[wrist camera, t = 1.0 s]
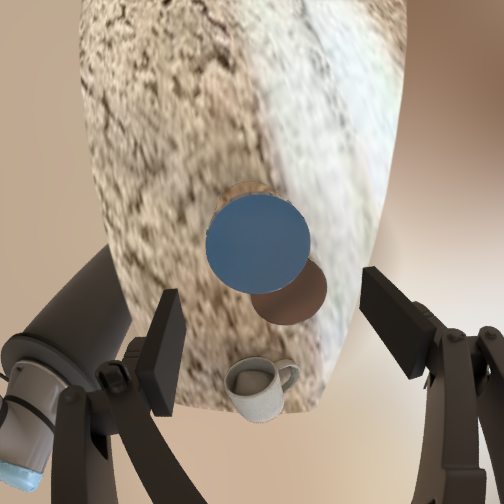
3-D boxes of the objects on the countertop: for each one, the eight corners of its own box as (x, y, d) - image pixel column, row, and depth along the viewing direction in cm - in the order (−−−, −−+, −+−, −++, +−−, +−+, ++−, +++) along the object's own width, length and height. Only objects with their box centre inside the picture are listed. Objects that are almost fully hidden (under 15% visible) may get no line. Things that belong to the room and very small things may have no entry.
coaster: (238, 309, 39) (238, 311, 39) (272, 243, 36) (273, 244, 36) (303, 332, 41) (303, 333, 41) (339, 273, 39) (340, 274, 38)
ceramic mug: (239, 397, 45) (242, 433, 38) (222, 363, 42) (223, 401, 35) (302, 380, 45) (313, 415, 38) (292, 344, 42) (304, 380, 35)
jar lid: (192, 264, 27) (189, 272, 25) (232, 174, 24) (232, 176, 23) (278, 297, 29) (281, 307, 27) (322, 216, 26) (328, 221, 24)
